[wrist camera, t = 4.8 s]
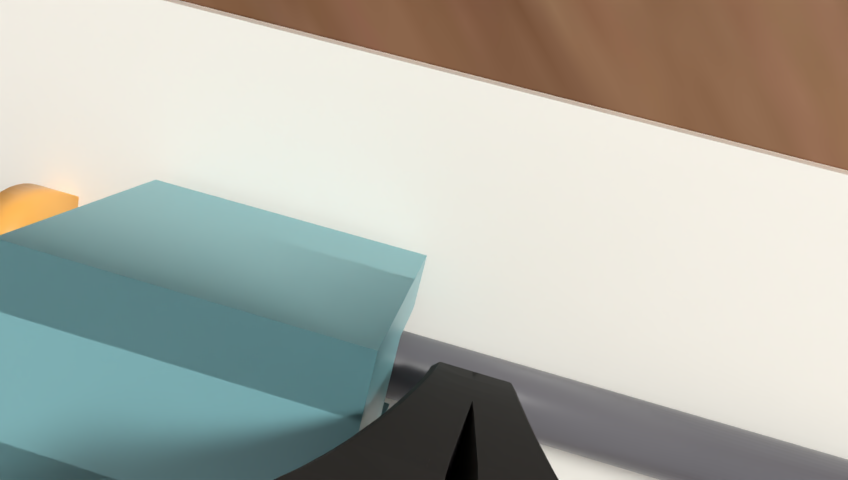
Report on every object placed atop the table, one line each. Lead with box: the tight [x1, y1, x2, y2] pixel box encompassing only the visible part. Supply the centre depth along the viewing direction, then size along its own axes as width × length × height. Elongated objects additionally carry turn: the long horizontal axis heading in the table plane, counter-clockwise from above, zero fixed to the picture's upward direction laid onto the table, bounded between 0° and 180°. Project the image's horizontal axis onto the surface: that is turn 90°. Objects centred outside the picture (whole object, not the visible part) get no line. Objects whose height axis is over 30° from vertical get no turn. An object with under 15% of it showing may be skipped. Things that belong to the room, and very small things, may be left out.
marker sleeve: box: [0, 180, 427, 480], centre depth 10 cm, size 4×5×4 cm
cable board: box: [0, 0, 848, 480], centre depth 11 cm, size 10×24×4 cm, turn 77°
